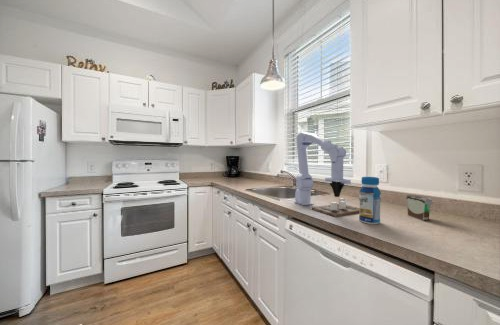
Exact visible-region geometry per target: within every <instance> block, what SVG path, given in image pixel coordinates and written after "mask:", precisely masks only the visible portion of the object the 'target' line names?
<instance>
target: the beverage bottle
mask: <svg viewBox="0 0 500 325" xmlns="http://www.w3.org/2000/svg"><path fill="white" fill-rule="evenodd" d="M379 184H380V178H379V177H377V176H376V177H375V176H362V177H361V185H362V186H361V187H360V189H359V197H358V200H359V208H360V213H359V218H358V219H359V221H360V222H362V223H365V224H367V225H379V224H380V223H381V202H382V198H381V190H380V188H379V187H378V186H379Z"/></svg>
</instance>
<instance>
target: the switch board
mask: <svg viewBox="0 0 500 325" xmlns="http://www.w3.org/2000/svg"><path fill="white" fill-rule="evenodd" d="M311 210H313V211H315V212H318V213H322V214H325V215H328V216H332V217H334V218H338V217H343V216H349V215H354V214H360V207H356V206H351V205H348V204H346V208H345V209H341V208H339V203H337V210H331V209H330V204H328V205H327V204H326V205H320V206H312V207H311Z"/></svg>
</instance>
